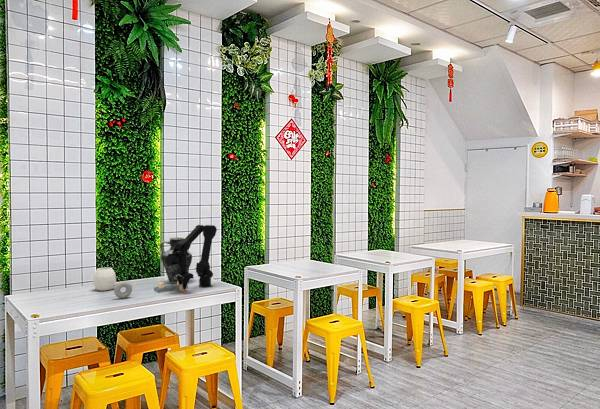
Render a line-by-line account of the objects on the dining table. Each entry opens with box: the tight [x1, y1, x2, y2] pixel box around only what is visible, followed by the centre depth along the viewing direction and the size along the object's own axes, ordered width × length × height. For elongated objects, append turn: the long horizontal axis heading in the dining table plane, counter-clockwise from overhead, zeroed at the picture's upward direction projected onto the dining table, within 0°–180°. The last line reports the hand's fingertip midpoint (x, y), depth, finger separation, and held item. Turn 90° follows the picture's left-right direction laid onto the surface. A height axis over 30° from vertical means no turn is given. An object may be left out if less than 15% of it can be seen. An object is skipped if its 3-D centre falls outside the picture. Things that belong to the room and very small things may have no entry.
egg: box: [178, 284, 187, 293], centre depth 297 cm, size 4×4×5 cm
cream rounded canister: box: [92, 266, 117, 292], centre depth 305 cm, size 13×13×14 cm
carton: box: [153, 281, 189, 293], centre depth 303 cm, size 19×7×6 cm, turn 128°
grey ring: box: [113, 280, 133, 299], centre depth 280 cm, size 10×4×10 cm, turn 121°
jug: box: [159, 236, 193, 284], centre depth 325 cm, size 21×19×30 cm
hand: (182, 288), depth 297 cm, fingers closed on egg, 4 cm apart
